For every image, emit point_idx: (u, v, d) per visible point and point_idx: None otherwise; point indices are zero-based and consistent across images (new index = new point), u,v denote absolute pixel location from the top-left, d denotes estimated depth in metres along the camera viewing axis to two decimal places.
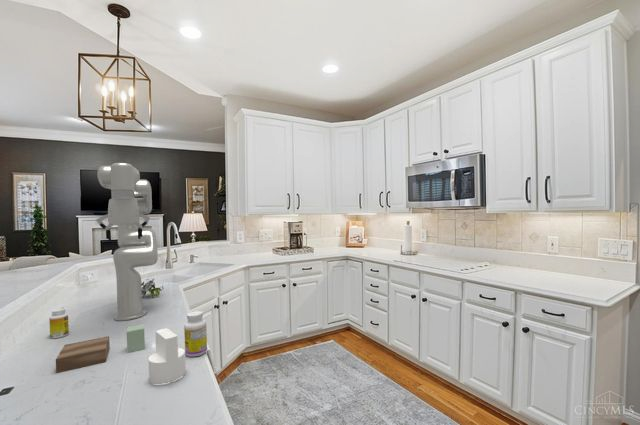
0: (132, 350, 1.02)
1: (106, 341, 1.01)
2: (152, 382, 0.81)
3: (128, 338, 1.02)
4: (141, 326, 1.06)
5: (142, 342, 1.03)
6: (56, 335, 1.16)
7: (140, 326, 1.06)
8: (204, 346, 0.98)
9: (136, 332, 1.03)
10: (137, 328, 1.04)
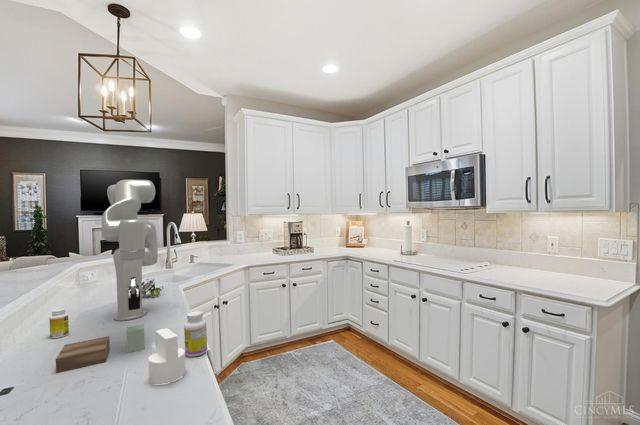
0: (132, 350, 1.02)
1: (106, 341, 1.01)
2: (152, 382, 0.81)
3: (128, 338, 1.02)
4: (141, 326, 1.06)
5: (142, 342, 1.03)
6: (56, 335, 1.16)
7: (140, 326, 1.06)
8: (204, 346, 0.98)
9: (136, 332, 1.03)
10: (137, 328, 1.04)
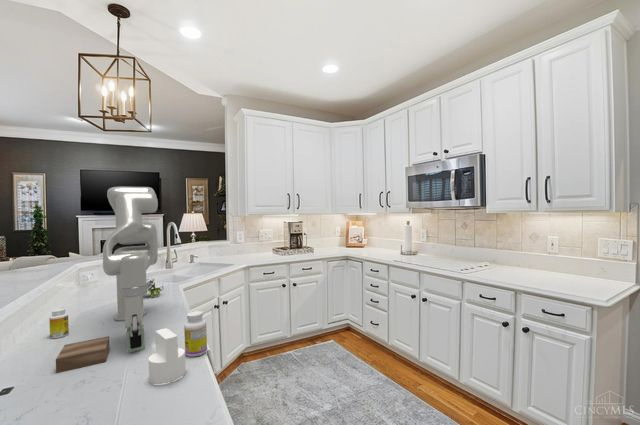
0: (132, 350, 1.02)
1: (106, 341, 1.01)
2: (152, 382, 0.81)
3: (128, 338, 1.02)
4: (141, 326, 1.06)
5: (142, 342, 1.03)
6: (56, 335, 1.16)
7: (140, 326, 1.06)
8: (204, 346, 0.98)
9: None
10: (137, 328, 1.04)
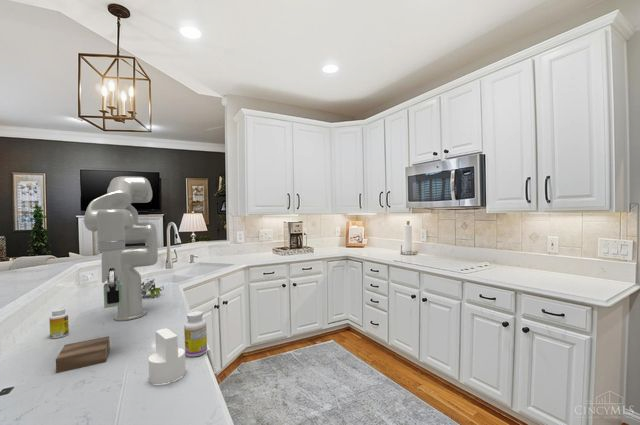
0: (109, 305, 0.99)
1: (106, 341, 1.01)
2: (152, 382, 0.81)
3: (105, 293, 0.99)
4: (119, 282, 1.03)
5: (120, 298, 1.01)
6: (56, 335, 1.16)
7: (118, 282, 1.03)
8: (204, 346, 0.98)
9: None
10: None
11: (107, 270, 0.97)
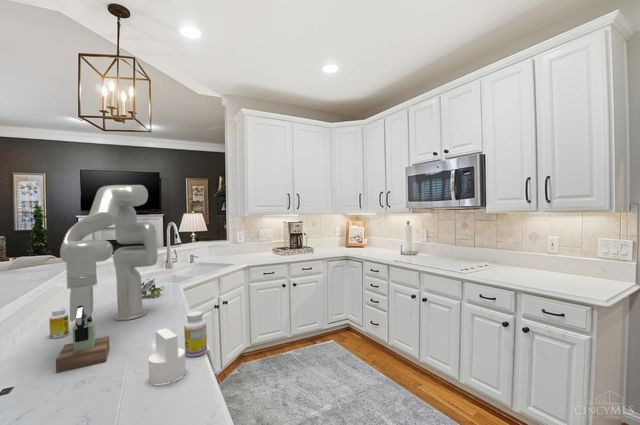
0: (79, 349, 0.95)
1: (106, 341, 1.01)
2: (152, 382, 0.81)
3: None
4: (90, 323, 0.99)
5: (91, 340, 0.97)
6: (56, 335, 1.16)
7: (89, 323, 0.99)
8: (204, 346, 0.98)
9: None
10: None
11: (75, 308, 0.93)
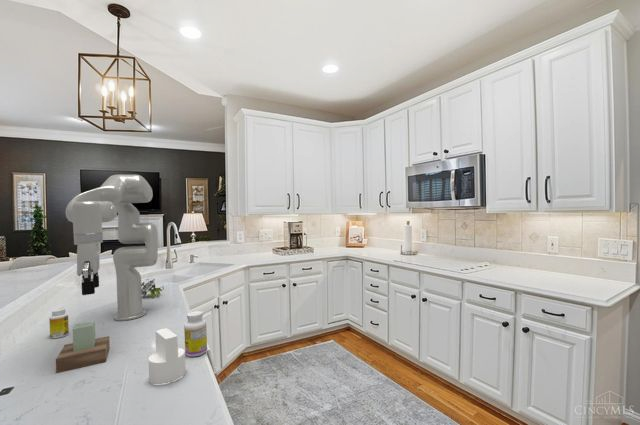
0: (79, 349, 0.95)
1: (106, 341, 1.01)
2: (152, 382, 0.81)
3: (75, 336, 0.95)
4: (90, 323, 0.99)
5: (91, 340, 0.97)
6: (56, 335, 1.16)
7: (89, 323, 0.99)
8: (204, 346, 0.98)
9: (84, 329, 0.96)
10: (85, 325, 0.97)
11: (82, 263, 0.96)
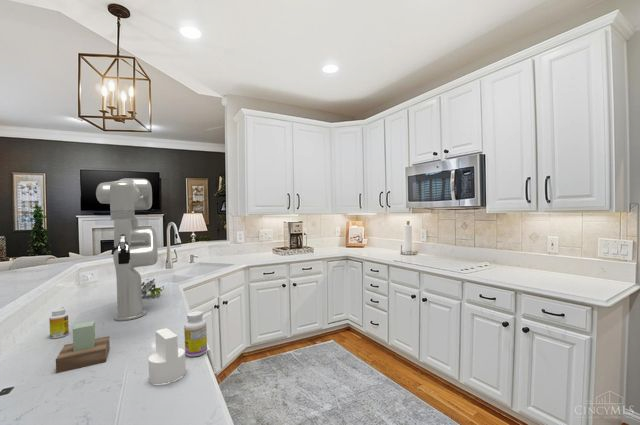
0: (79, 349, 0.95)
1: (106, 341, 1.01)
2: (152, 382, 0.81)
3: (75, 336, 0.95)
4: (90, 323, 0.99)
5: (91, 340, 0.97)
6: (56, 335, 1.16)
7: (89, 323, 0.99)
8: (204, 346, 0.98)
9: (84, 329, 0.96)
10: (85, 325, 0.97)
11: (119, 236, 1.09)
